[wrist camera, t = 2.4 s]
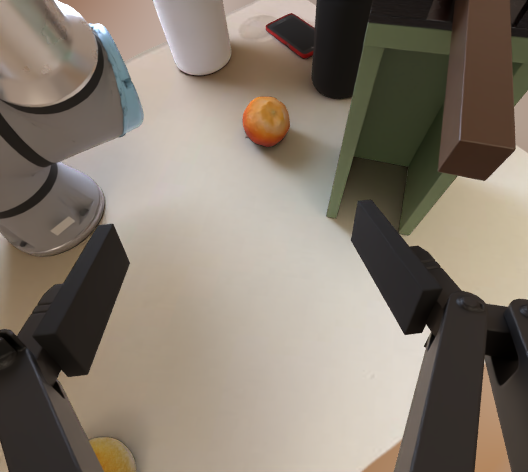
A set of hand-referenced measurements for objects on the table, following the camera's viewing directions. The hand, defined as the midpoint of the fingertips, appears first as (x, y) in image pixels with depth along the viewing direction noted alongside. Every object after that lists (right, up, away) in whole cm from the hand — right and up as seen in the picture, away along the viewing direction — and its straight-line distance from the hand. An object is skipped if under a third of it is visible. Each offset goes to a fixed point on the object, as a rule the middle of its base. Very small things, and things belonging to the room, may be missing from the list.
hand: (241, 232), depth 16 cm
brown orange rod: (+14, +14, +2) cm, 20 cm away
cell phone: (+9, +44, +49) cm, 66 cm away
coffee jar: (+16, +30, +41) cm, 54 cm away
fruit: (+2, +17, +37) cm, 41 cm away
